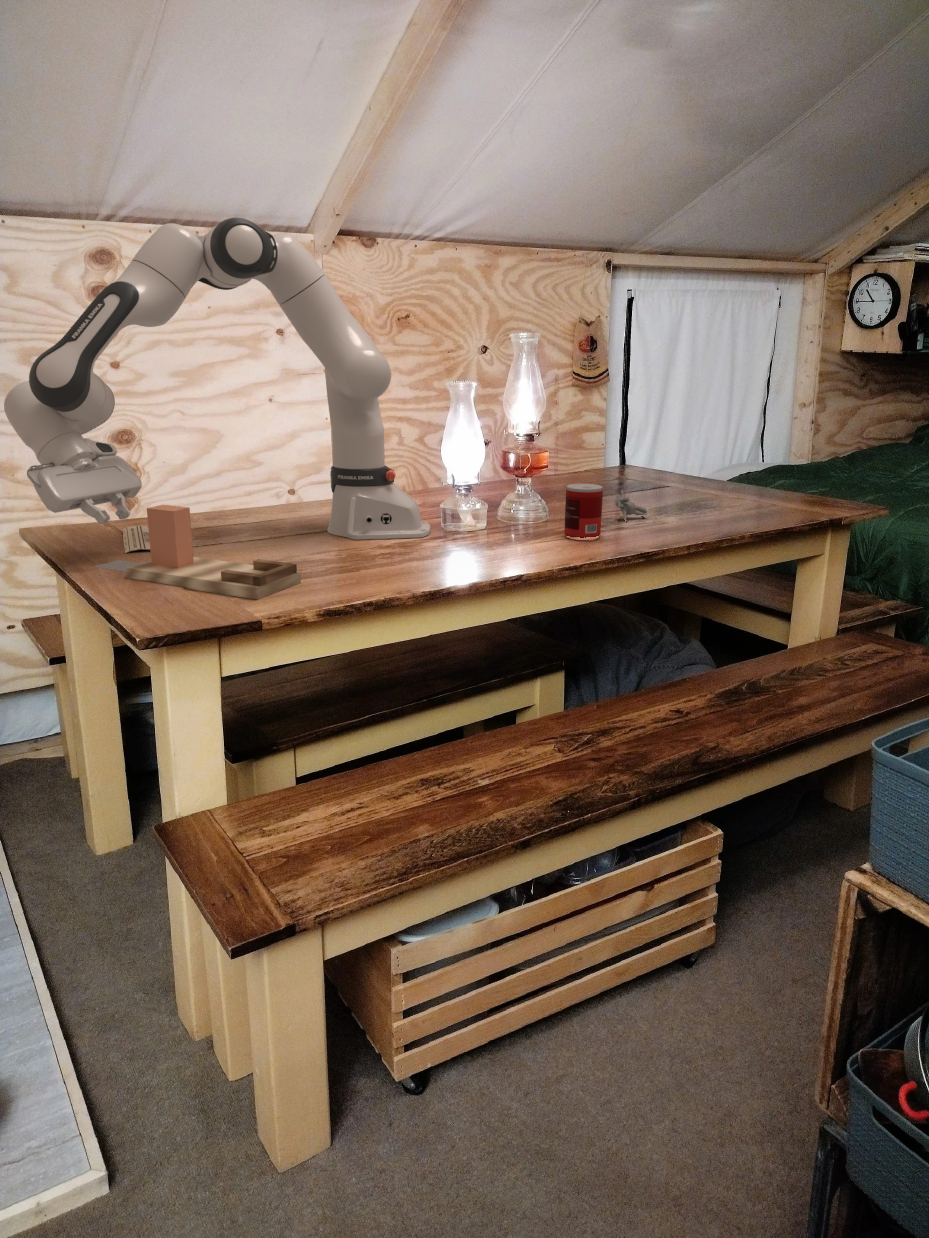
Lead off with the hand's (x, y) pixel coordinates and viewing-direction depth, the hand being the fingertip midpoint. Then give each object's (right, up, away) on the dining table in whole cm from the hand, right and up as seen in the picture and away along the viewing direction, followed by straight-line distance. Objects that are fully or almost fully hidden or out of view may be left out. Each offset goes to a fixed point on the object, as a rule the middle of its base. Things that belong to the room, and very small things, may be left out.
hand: (115, 519), depth 166 cm
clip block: (+11, -8, -3) cm, 14 cm away
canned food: (+88, -1, +32) cm, 94 cm away
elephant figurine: (+102, +6, +54) cm, 115 cm away
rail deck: (+19, -11, -6) cm, 23 cm away
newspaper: (-4, -3, +24) cm, 24 cm away
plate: (0, -9, +2) cm, 9 cm away
